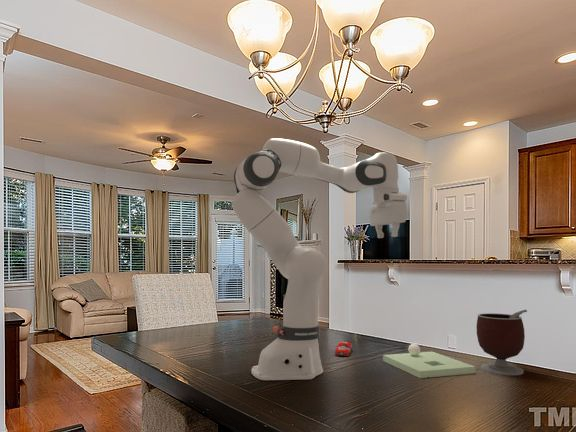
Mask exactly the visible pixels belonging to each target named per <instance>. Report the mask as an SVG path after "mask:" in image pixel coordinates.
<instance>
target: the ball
mask: <svg viewBox="0 0 576 432" xmlns="http://www.w3.org/2000/svg"><path fill="white" fill-rule="evenodd" d="M420 352H421V347H420V346H419V345H418V344H416V343H412V344H410V345H409V346H408V353H410V354H411V355H413V356H417V355H419V353H420Z"/></svg>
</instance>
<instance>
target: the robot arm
mask: <svg viewBox="0 0 576 432" xmlns="http://www.w3.org/2000/svg"><path fill="white" fill-rule="evenodd" d="M279 173H286V174H289V175H293V176H298V177H304V178H310V179H311V178H312V179H314V180H318V181H322V182H325V183H329V184H333V185H334V186H336V187H338V188H340V189H341V190H342V191H344V192H345V193H347V194H354V193H355V194H356V193H358V192H359V191H361V190H365V189H368V188H372V189H373V190H372V191H373V192H372V195H373V202H372V204H371V206H370V209H369V226H370V227H375V231H376V234H377V238H378V239H383V238H384V237H385V233H384V232H383V226H386V225H387V226H388V225H391V226H392V230H391V231H390V236H391V238H397V237H399V234H398V232H399V229H400V224H402V223H406V221H407V218H408V206H407V203H406V201H408V195H407V194H405V193H402V192H400V191H399V190H400V189H399V185H398V181H399V180H398V179H399V167H398V160H397V158H396V156H395V155H394V154H392V153H390V152H387V151H386V152H385V151H383V152H382V151H381V152H377V153H375V154H374V155H372V156H371V157H369V158H366V159H363V160H361V161H358V162H356V163H353V164H351V165H349V166H344V167H339V166H335V165H332V164H328V163H326V162H323V161H322V160H321V156H320V153H319V150H318V149H317V148H316V147H315V146H312V145H310V144H308V143H305V142H301V141H297V140H293V139H287V138H286V139H285V138H269V139H267V141H265V143H264V145H263V147H262V150H260V151H257V152H254V153H252V154H251V153H250V155H249V156H248V157H245V159H243V160H242V161H241V162H240V163H239V164H238V166H237V167H236V168H235V170H234V173H233V181H234V184H235V189H236V194H235V196H234V197H233V199H232V202H231V207H232V209H233V211H234V213H235V215H236V216H237V218H238V219H239V221H240V223H241V224H242V225H243V226H244V227H245V229H246V230H247V231H248V232H249V234H250V235H251V236H252V237H253V238H254V239H255V240H256V241H257V243H258V244H259V245H260V246H261V247H262V248H263V250H264V251H265V253H267V255H268V257H269V259H270V260H271V262H272V263H273V264H274V266H275V267H276V268H277V270H278V271H279V273H280V275H282V277H284V278H285V279H287V287H286V292H285V295H284V298H283V303H282V305H283V306H282V307H283V309H282V310H283V312H282V313H283V314H282V315H283V316H282V318H283V319H282V321H283V322H282V323H283V324H282V325H281V326H280V327H279V326H278V325H274V326H273V328H272V331H273V332H274V333H275V334H276V337H277V338H275V339H274V340H272V341H271V343H269V344H268V345H267V346H265V347H264V348H263V349H262V350H261V352H260V353H259V357H258V358H259V359H258V364H257V365H253V366H252V367H251V370H250V372H251V375H252V376H254V378H256V379H258V380H261V381H290V380H295V381H297V380H313V379H314V378H315V377H317V376H319V375H321V374H323V372H324V369H323V365H322V361H321V356H320V355H321V354H320V349H319V343H320V336H321V335H320V332H321V331H320V325H318V324H319V310H318V309H319V295H320V290H321V285H322V281H323V280H322V279H323V277H324V275H325V273H326V271H327V268H328V267H327V266H328V265H327V260H326V257H325V256H324V254H323V253H322V252H320V251H319V250H317V249H316V248H313V247H309V246H305V247H304V246H303V245H301V243H299V241H298V240H297V238H296V237H295V235H294V233H293V230H292V228H291V225H290V224H289V223H288V222H287V221H286V220H285V219H284V217H283V216H282V215H281V214H280V213H279V211H278V210H277V209H276V208H275V207H274V206H273V204H272V203H271V202H270V201H269V200H268V198H267V196H266V193H265V189H266V188H267V187H268V186H269V185H271V184H272V183H273V182H274V181H275V180H276V178H277V176H278V174H279Z"/></svg>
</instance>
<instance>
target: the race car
mask: <svg viewBox="0 0 576 432" xmlns="http://www.w3.org/2000/svg"><path fill="white" fill-rule="evenodd" d="M335 347H336V348H335V352H334V354H335V355H334V356H339V357H350V355H351V354H352V351H353V345H352V343H351V342H348V341H341V342H340V341H339V343H338V345H336V346H335Z"/></svg>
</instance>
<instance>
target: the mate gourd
mask: <svg viewBox="0 0 576 432" xmlns="http://www.w3.org/2000/svg"><path fill="white" fill-rule="evenodd" d="M527 312H528V310H527V309H523V310H520V311H517V312H515V313H513V314H509V313H492V312H491V313H490V312H489V313H485V312H484V313H478V314H477V319H476V338H477V342H478V344H479V346H480V348H481V350H483V352H484V353H486V354H488V355H490V356H492V357H493V358H495V362H489V363H482V364H481V365H480V369H481V370H482V371H484V372H486V373H490V374H494V375H499V376H521V375H524V369H523V368H521V367H520V366H519V367H518V366H516V365H513V364H512V365H511V364H508V362H507V360H508V359H510V358H513V357H516V356H518V355H520V353H521V352H522V351H523V348H524V346H525V325H524V321H523V319H522V318H523V317H522V316H521V315H522V314H523V313H527Z"/></svg>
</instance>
